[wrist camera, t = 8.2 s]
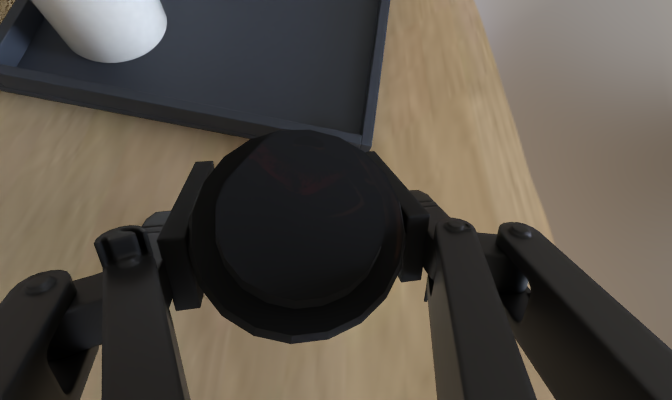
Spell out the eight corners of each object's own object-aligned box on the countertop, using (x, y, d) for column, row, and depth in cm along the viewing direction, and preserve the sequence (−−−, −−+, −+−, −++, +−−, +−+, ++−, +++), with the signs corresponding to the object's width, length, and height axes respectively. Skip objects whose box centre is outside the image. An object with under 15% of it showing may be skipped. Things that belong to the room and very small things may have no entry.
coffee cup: (355, 335, 18) (426, 353, 9) (220, 329, 18) (143, 341, 8) (359, 210, 21) (419, 120, 11) (240, 199, 20) (197, 93, 10)
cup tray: (1, 91, 23) (-28, 68, 21) (110, -98, 29) (96, -130, 27) (364, 161, 24) (371, 146, 22) (390, -33, 31) (397, -58, 29)
